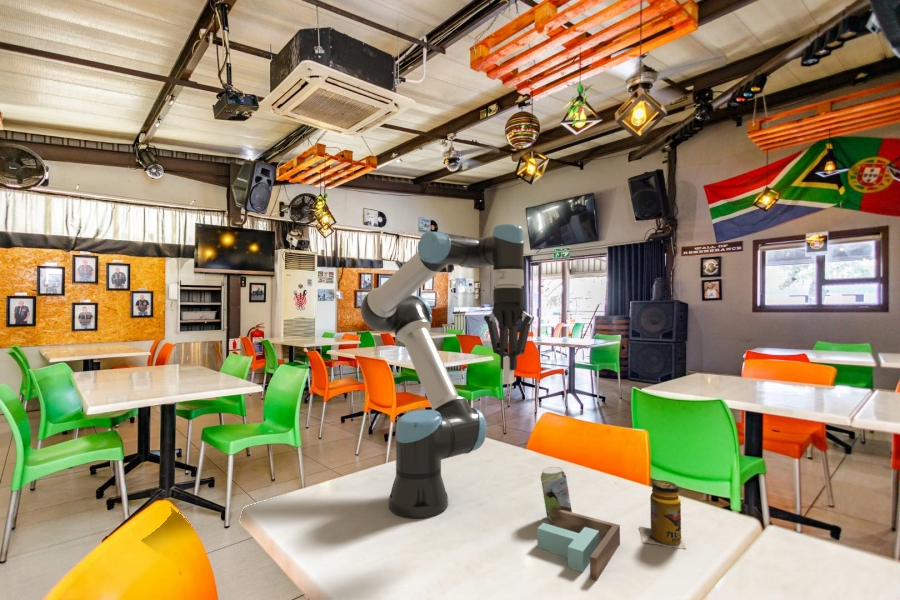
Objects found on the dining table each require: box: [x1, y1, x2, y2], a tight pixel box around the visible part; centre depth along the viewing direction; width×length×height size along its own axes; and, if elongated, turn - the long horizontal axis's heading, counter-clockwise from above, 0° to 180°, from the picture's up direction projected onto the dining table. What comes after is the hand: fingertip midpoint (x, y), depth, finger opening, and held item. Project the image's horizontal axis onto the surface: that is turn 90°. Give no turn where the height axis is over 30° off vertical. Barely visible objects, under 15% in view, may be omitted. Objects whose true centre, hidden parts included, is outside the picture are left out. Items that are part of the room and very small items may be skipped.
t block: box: [536, 522, 600, 573], centre depth 93 cm, size 11×10×4 cm
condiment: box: [638, 479, 686, 550], centre depth 99 cm, size 7×8×12 cm
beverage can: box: [540, 466, 573, 522], centre depth 108 cm, size 6×7×12 cm
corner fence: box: [551, 508, 621, 582], centre depth 94 cm, size 15×16×4 cm
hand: (508, 383), depth 110 cm, fingers closed
